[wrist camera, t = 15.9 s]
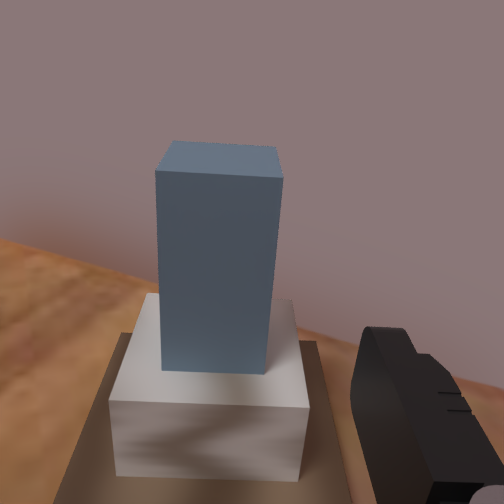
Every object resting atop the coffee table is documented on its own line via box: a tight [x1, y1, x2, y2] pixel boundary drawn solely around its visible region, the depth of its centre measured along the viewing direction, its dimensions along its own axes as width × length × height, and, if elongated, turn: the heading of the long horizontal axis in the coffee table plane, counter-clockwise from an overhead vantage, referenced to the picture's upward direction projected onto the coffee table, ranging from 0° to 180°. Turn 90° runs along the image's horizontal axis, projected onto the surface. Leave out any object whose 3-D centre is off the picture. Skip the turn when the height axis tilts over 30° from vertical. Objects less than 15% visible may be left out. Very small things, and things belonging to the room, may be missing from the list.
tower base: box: [53, 293, 352, 504], centre depth 26 cm, size 14×14×8 cm
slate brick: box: [155, 141, 283, 375], centre depth 22 cm, size 5×5×10 cm
